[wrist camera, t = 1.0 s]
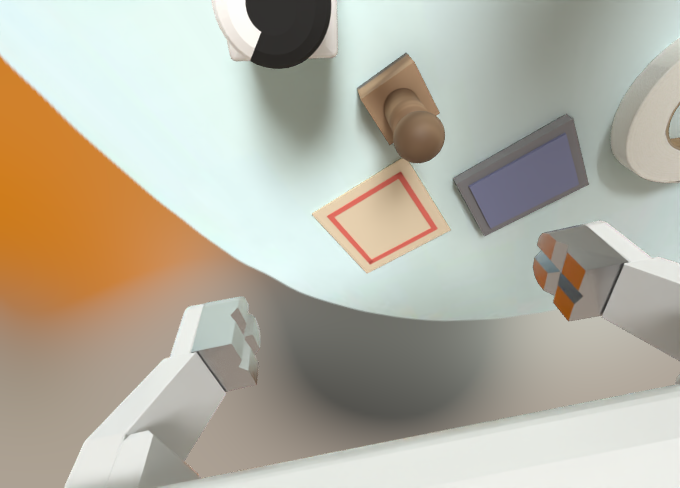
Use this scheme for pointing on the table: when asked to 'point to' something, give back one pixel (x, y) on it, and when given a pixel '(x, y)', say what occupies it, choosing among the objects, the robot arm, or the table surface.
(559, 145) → the ink pad
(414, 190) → the tan card
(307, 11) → the medicine bottle
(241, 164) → the table surface
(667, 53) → the roll of tape
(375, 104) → the walnut stamp
